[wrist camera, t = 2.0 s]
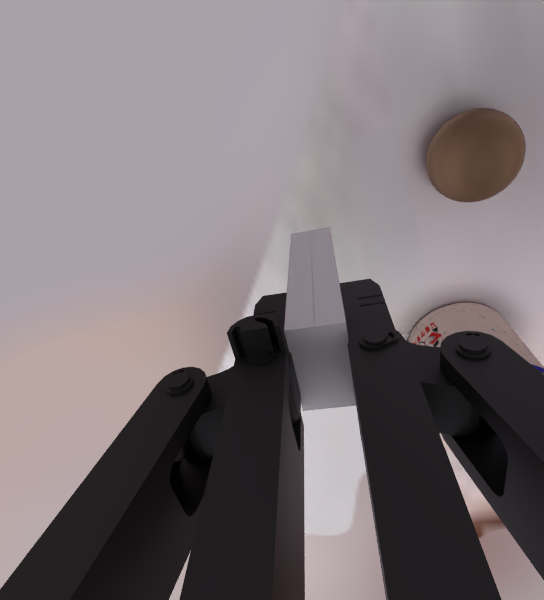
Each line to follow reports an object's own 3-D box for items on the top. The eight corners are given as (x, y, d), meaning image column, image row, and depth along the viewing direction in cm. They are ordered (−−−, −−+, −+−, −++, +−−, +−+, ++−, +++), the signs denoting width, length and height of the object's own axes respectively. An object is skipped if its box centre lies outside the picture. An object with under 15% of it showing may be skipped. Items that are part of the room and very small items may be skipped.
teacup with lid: (404, 302, 33) (447, 401, 23) (519, 293, 32) (617, 395, 22) (400, 405, 39) (432, 520, 29) (497, 401, 38) (566, 520, 28)
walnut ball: (504, 96, 25) (551, 101, 20) (498, 181, 28) (538, 204, 23) (415, 115, 26) (440, 124, 21) (417, 196, 29) (440, 220, 24)
